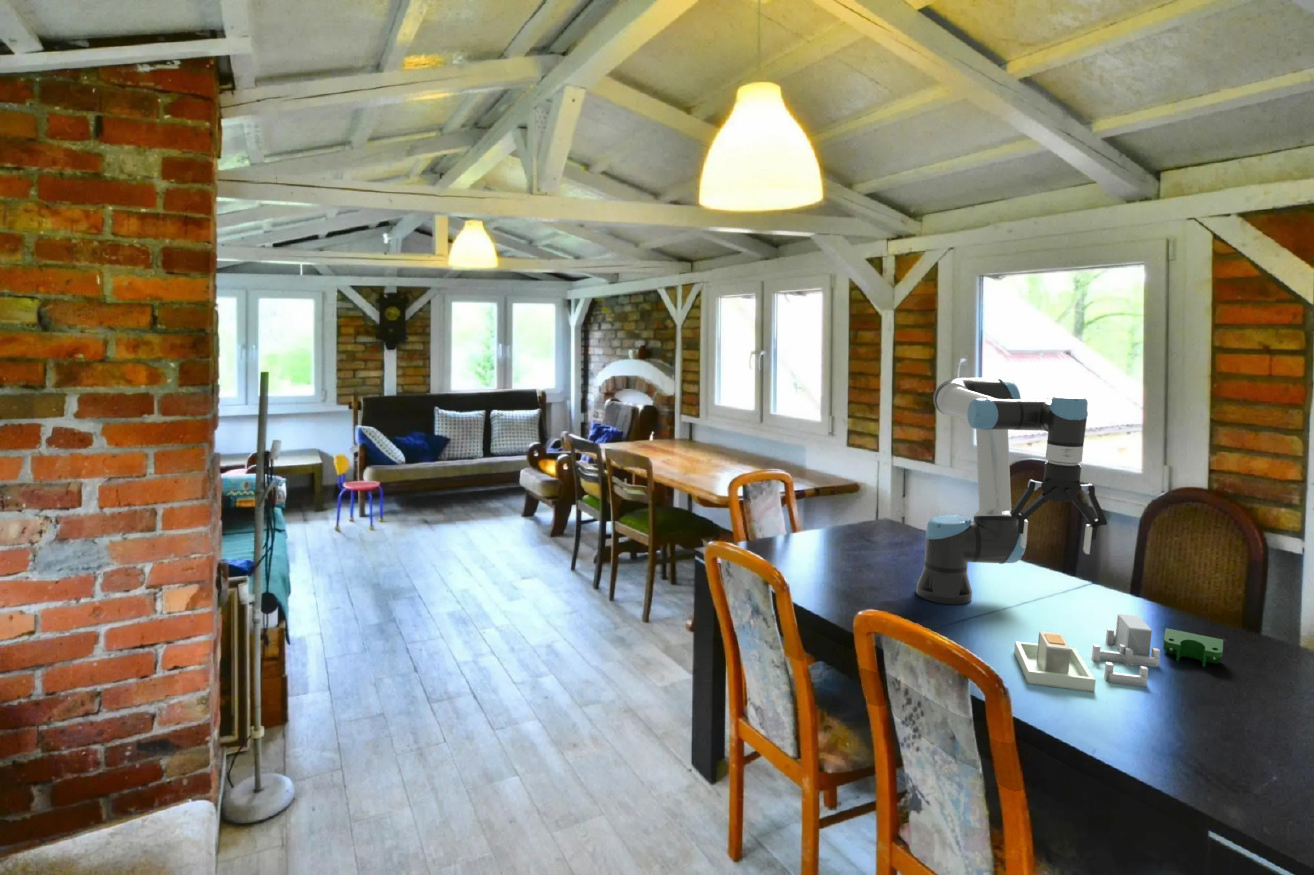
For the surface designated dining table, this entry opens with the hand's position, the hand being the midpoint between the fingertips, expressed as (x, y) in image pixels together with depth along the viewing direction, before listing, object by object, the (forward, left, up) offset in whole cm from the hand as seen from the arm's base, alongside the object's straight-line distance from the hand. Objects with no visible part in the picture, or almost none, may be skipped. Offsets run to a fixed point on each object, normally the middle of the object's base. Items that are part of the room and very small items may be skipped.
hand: (1054, 549), depth 179 cm
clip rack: (+16, -3, -25) cm, 30 cm away
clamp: (+32, +3, -25) cm, 41 cm away
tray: (-1, -13, -25) cm, 28 cm away
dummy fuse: (+19, +3, -25) cm, 32 cm away
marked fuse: (-1, -13, -24) cm, 28 cm away
